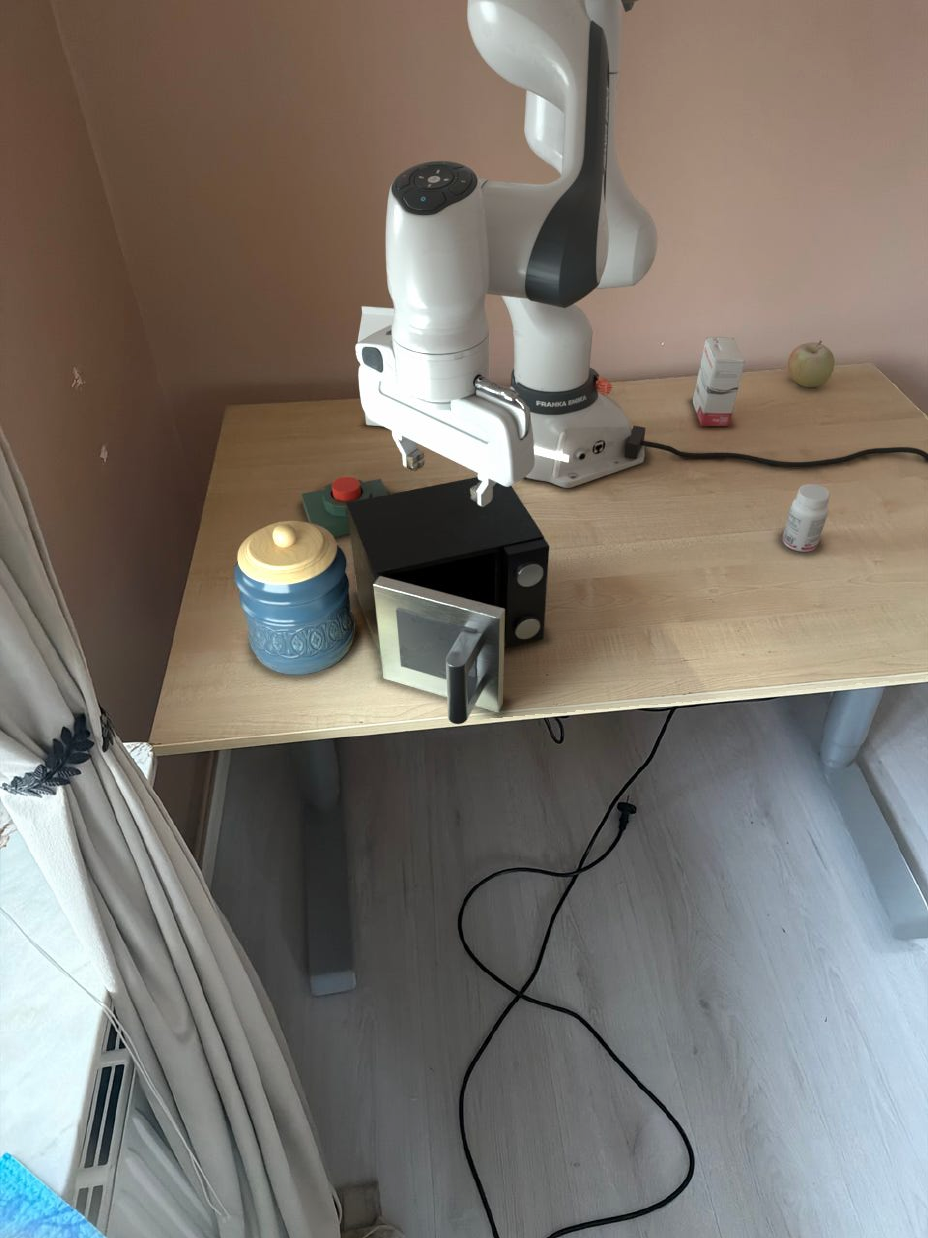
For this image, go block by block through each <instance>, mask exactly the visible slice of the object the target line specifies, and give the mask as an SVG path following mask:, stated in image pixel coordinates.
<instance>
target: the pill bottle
mask: <svg viewBox="0 0 928 1238" xmlns="http://www.w3.org/2000/svg"><path fill="white" fill-rule="evenodd" d="M830 497H831V493H830V491H829V490H828V489H827V488H826V487H825V486H822V485H820V484H816V483H807V484H803V485H801V486H800V487H799V488H798V491H797V495H796V498H794V500H793V501H792V503H791V505H790V509H789V513H788V516H787V520H786V524H785V527H784V531H783V534H782V542H783V544H784V546H786V547H787V548H789V549H790V550H793V551H796V552H799V553H806V552H807V553H808V552H813V551H814V550H815V549H816V548H817V547H818V545H819V542H820V540H821V536H822V534H823V530H824V528H825V524H826V522H827V521H826V520H827V518H828V514H829V506H828V504H829V500H830Z"/></svg>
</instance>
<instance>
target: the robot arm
mask: <svg viewBox="0 0 928 1238" xmlns="http://www.w3.org/2000/svg"><path fill="white" fill-rule="evenodd" d="M636 2H639V0H467V6H466V7H467V10H466V17H467V19H466V20H467V25H468V30H469V33H470V37H471V40H472V42H473V44H474V46H475V48H476V50H477V52H478V53H479V55H480V56H481V57H482V59H483V60H484V62H485V63H486V64H487V65H488V66H489V68H491V69H492V70H493V71H494V72H495V73H496V74H497V75H498V76H499V77H501V78H502V79H504V81H506V82H507V83H509V84H512V85H514V86H515V87H517V88H520V89H524V90H525V103H524V104H525V106H524V107H525V108H524V123H523V124H524V125H523V133H524V138H525V141H526V143H527V145H528V147H529V149H530V150H531V151H532V152H533V154H535V156H537V157H538V158H540V159H541V160H542V161H543V162H545V163H546V164H548V165H550V166H551V167H553V169H555V170H556V171H557V172H558V173H559V174H560V177H559V178H557V179H556V180H554V181H551V182H550V183H545V184H536V183H535V184H534V183H523V182H512V181H503V180H501V181H500V180H492V179H489V178H488V179H487V178H479V177H478V174H477V173H476V172H475V171H474V170H473V169H472V168H470V167H468V166H467V165H464V164H462V163H459V162H455V161H449V160H435V161H434V160H433V161H428V162H423V163H419V164H415V165H413V166H411V167H409V168H407V169H405V170H404V171H402V172H401V173H400V174H398V175H397V176H396V177H395V178H394V180H393V181H392V182H391V185H390V187H389V191H388V197H387V205H386V216H385V268H386V284H387V290H388V293H389V295H390V298H391V300H392V301H391V302H392V303H393V304H392V305H393V308H394V317H393V322H392V325H390V326H388V327H385V328H383V329H381V330H379V331H377V332H375V333H373V334H371V335H370V336H368V337H366V338H364V339H363V340H361V341H360V342H358V341H357V343H356V344H355V347H354V348H355V349H354V350H355V356H356V359H357V361H358V363H359V366H358V371H357V372H358V373H357V375H358V388H359V389H358V390H359V397H360V403H361V407H362V410H363V412H364V414H365V413H366V415H367V416H368V418H369V419H370V420H371V421H373V422H376V423H378V424H380V425H382V426H381V427H384V428H386V429H388V430H389V431H391V435H392V438H393V440H394V442H395V445H396V447H397V448H398V450H399V452H400V453H401V455H402V456H401V457H402V465H403V467H404V468H406V469H408V470H410V471H412V472H417V471H418V470H419V469H422V468H424V466H425V459H424V458H425V451H423V450H422V449H421V448H419V446H418V445H420V446H422V447H424V448H426V449H428V450H430V451H432V452H434V453H436V454H439V455H440V456H443V457H444V458H447V459H449V460H451V461H453V462H455V463H457V464H458V465H460V466H463V467H465V468H466V469H469V470H471V471H473V472H475V473H477V477H478V479H479V480H481V481H480V482H479V483H478V484H477V485H475V486H473V487H472V488H470V494H471V497H470V500H471V501H472V502H474V503H476V504H478V505H480V506H482V507H484V506H485V505H487V504H488V503H490V502H491V500H492V498H493V486H494V485H495V484H496V483H499V484H501V485H503V486H506V487H509V486H513V485H515V484H517V483H519V482H520V481H521V480H523V479H524V478H527V479H531V480H535V481H541V482H547V483H551V484H553V485H554V486H555V485H556V486H557V487H560V488H564V489H571V488H574V487H577V486H580V485H583V484H585V483H586V484H587V483H589V482H591V481H595V480H597V479H600V478H603V477H605V476H608V475H611V474H614V473H618V472H621V471H623V470H626V469H629V468H632V467H634V466H637V465H640V464H642V463H644V461H645V447H648V448H651V449H657V450H662V451H666V452H669V453H672V454H673V455H675V456H677V457H680V458H685V459H686V458H687V459H695V460H697V459H699V460H700V459H701V460H702V459H703V460H704V459H735V460H742V461H748V462H752V463H757V464H763V465H766V466H772V467H781V468H813V467H823V466H828V465H829V466H830V465H837V464H842V463H846V462H850V461H853V460H856V459H858V458H861V457H864V456H871V455H877V454H878V455H879V454H895V453H896V454H897V453H904V454H905V453H907V454H914V455H918V456H919V457H922V458H924V460H926V461H927V462H928V452H926V451H925V450H922V449H919V448H916V447H910V446H894V447H893V446H891V447H874V448H868V449H867V448H866V449H864V450H859V451H856V452H854V453H851V454H849V455H845V456H841V457H835V458H828V459H820V460H812V461H782V460H774V459H768V458H764V457H760V456H755V455H750V454H745V453H736V452H687V451H683V450H682V451H681V450H679V449H677V448H675V447H673V446H670V445H667V444H663V443H659V442H654V441H648V440H645V435H646V427H645V426H640V425H633V426H632V424H631V421H630V418H629V416H628V415H627V414H626V412H625V410H624V409H623V408H622V407H621V406H620V405H619V403H618V402H616V400H614V399H613V398H611V397H610V396H609V394H610V393H611V392H612V389H613V385H612V383H611V382H610V381H608V378H606V377H600V374H599V372H598V371H596V369H594V368H592V367H591V354H592V345H593V344H592V343H593V327H592V324H591V321H590V320H589V318H588V316H587V314H586V313H585V312H584V311H583V310H582V308H580V306H578V305H576V303H578V302H579V301H581V300H582V299H584V298H585V297H587V296H588V295H590V293H592V292H593V291H594V290H595V289H596V290H597V289H598V290H604V289H617V288H626V287H633V286H635V285H637V284H639V282H640V281H641V280H643V279H644V277H645V276H646V275H647V274H648V272H649V271H650V270H651V268H652V266H653V264H654V262H655V259H656V256H657V251H658V244H659V243H658V239H659V238H658V231H657V226H656V224H655V223H656V222H655V221H654V219H653V217H652V215H651V213H650V212H649V211H648V209H647V208H645V206H644V205H643V204H642V203H641V202H640V201H639V200H638V199H637V198H636V196H635V195H634V193H633V192H632V191H631V190H630V188H629V186H628V184H627V182H626V180H625V178H624V175H623V174H622V171H621V167H620V165H619V160H618V156H617V149H616V114H617V98H618V90H619V89H618V87H619V79H620V69H621V58H622V57H621V56H622V43H623V41H622V40H623V9H624V13H627V12H631V11H632V9H633V8H634V5H635V3H636ZM622 6H623V7H622ZM622 8H623V9H622ZM487 295H491V296H500V297H501V298H502V300H503V302H504V304H505V306H506V308H507V311H508V313H509V317H510V320H511V325H512V326H511V327H512V335H513V361H514V362H513V369H512V371H511V374H510V387H508V386H507V387H505V386H503V385H500V384H499V383H498V382H496V381H494V380H491V379H490V321H489V318H488V315H487V312H486V297H487ZM360 363H361V365H360Z"/></svg>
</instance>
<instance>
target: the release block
mask: <svg viewBox="0 0 928 1238" xmlns="http://www.w3.org/2000/svg"><path fill="white" fill-rule="evenodd" d="M356 479H357V480H359V482H360V488H361V495H360V497H359V498H358V499H356V500H354V501H357V500H362V499H367V498H372V497H377V496H383V495H388V494H389V493H388V491H387V489H386V487H385V485H384V483H383V480H382V479H381V478H376V479H372V480H365V481H363V480H361V479H358V478H356ZM332 483H333V482H330V483H329V484H327V485H326V486H325V487H324V489H320V490H314V491H308V492H304V493H303V492H302V493H301V500H302V505H303V510H304V512H305V516H306V518H307V520H308V521H307V522H308V523H313V524H316V525H319V526H321V527H323V528H325V529H326V530H328V531H329V532H330V533H331V534H332V535H333V537H334V538H337V537H341V536H347V535H350V530H349V522H348V514H347V506H346V503H347V502H342V501H337V500H335V499H334V497H333V491H332ZM348 502H352V501H348Z"/></svg>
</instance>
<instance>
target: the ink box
mask: <svg viewBox="0 0 928 1238" xmlns="http://www.w3.org/2000/svg"><path fill="white" fill-rule="evenodd" d="M702 350H703V351H702V354H701V355H702V356H701V360H700V365H699V370H698V374H697V380H696V384H695V388H694V393H693V397H692V404H693V407H694V410H695V413H696V416H697V419H698V421H699V424H700V426H701V427H729V426H730V423H731V419H732V416H733V411H734V407H735V403H736V399H737V395H738V391H739V387H740V383H741V379H742V375H743V371H744V367H745V363H746V360H745V359H744V356H743V354H742V351H741V350H740V348H739V345H738V343H737V341H736V339H735V337H725V336H724V337H723V336H708V337H706V338H705V341H704V346H703V349H702Z"/></svg>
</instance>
